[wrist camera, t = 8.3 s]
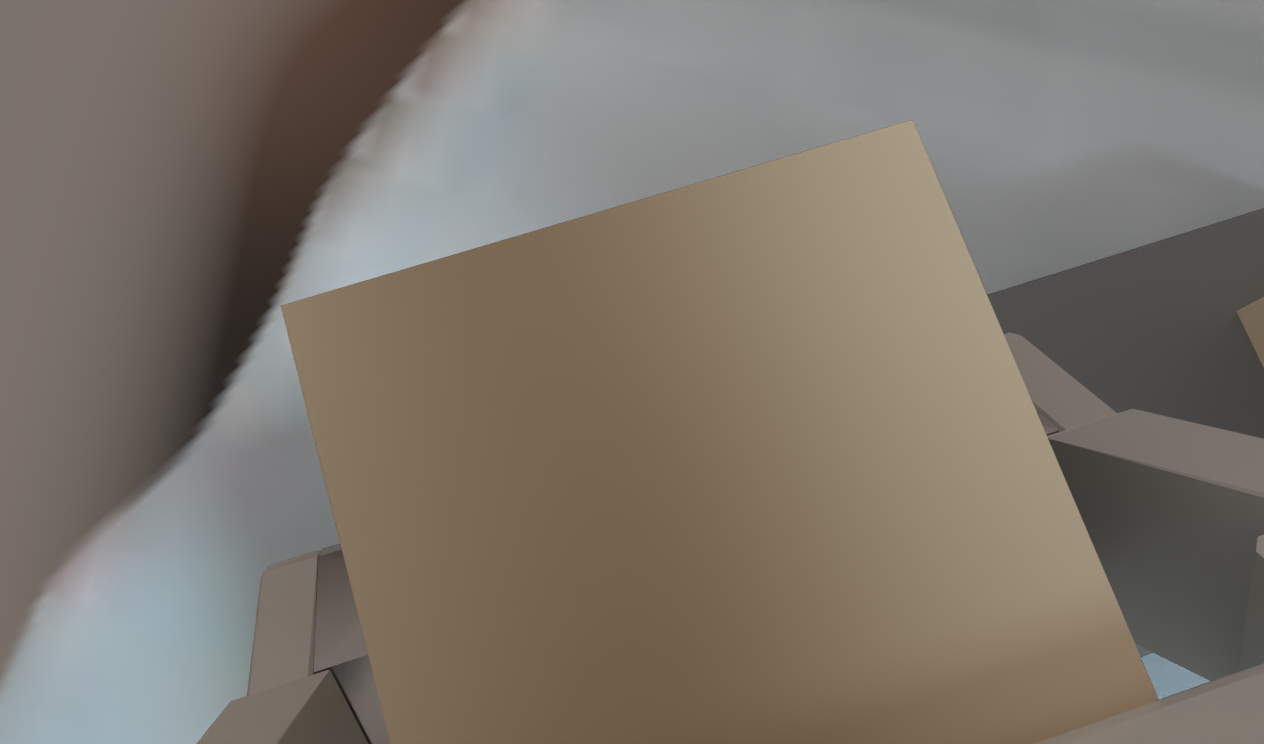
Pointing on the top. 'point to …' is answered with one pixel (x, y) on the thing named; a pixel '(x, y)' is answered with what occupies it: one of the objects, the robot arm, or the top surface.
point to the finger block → (710, 478)
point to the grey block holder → (1159, 326)
